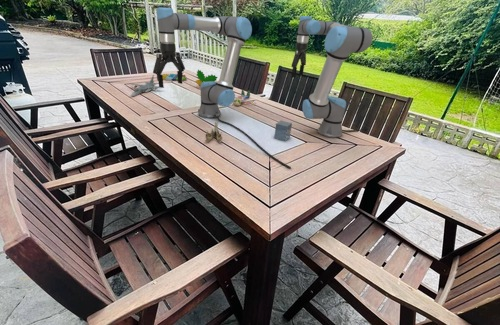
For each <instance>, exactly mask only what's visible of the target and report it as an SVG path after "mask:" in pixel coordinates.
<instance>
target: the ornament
mask: <svg viewBox="0 0 500 325" xmlns="http://www.w3.org/2000/svg"><path fill="white" fill-rule="evenodd" d="M196 76H197V80H195V81H194V82H195V84H197V86H199V87H200V86H201V83H202V82H208V81H215V82H217V79H218V76H216V74H214V75H213V74H208V75H205V73H204V71H202V70H199V69H197V71H196Z"/></svg>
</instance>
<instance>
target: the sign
mask: <svg viewBox="0 0 500 325" xmlns="http://www.w3.org/2000/svg"><path fill="white" fill-rule="evenodd" d="M162 75H163V80H165V81H172V82H173V81H178V76H177V73H163V74H162ZM184 81H187V77H186V74H183V77H182V82H184Z"/></svg>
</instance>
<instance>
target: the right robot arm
mask: <svg viewBox="0 0 500 325" xmlns="http://www.w3.org/2000/svg"><path fill="white" fill-rule="evenodd" d="M310 35H312V36H314V35H321V36H325V39H324V50H325V54H326V58H325V61H324V64H323V67H322V70H321V72H320V74H319V77H318V80H317V82H316V85H315V88H314V91H313V93H311V94H309V97H308V99H307V98H306V99H304V100H303V102H302V114H303V116H304V118H305V119H307V120H322V122H321V123H320V124H319V126H318V128H317V133H318V134H319V135H320V136H323V137H326V138H331V139H337V138H341V137H342V136H343V132H346V133H350V132H361V131H367V129H366V128H364V127H363V128H360V129H348V130H347V129H343V125H342V124H343V119H344V115H345V111H346V108H347V101H346V100H345V99H344V98H340V97H338V96H333V95H332V96H331V95H330V93H331V91H332V89H333V86H334V84H335V83H336V79H337V77H338V74H339V72H340V70H341V67H342V65H343V63H344V61H347V60H348V59H349V56H350V55H351V54H360V53H363V52H365V51H367V50H368V49H369V48H370V47H371V45H372V43H373V33H372V31H371V30H370V29H369V28H366V27H362V26H360V27H359V26H349V25H345V24H342V23H340V22H339V21H329V20H327V21H326V20H317V19H313V17H312V16H310V15H300V17H299V20H298V28H297V35H296V43H295V49H296V50H295V52H294V57H293V59H292V63H291V69H292V70H291V78H294V79H295V78H296V76H297V70H298V67H297V66H298V64H299V62H300V66H299V72H298V75H301V76H303V75H304V70H305V66H306V65H307V50H308V45H309V39H310Z"/></svg>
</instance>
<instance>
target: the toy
mask: <svg viewBox="0 0 500 325" xmlns="http://www.w3.org/2000/svg"><path fill="white" fill-rule="evenodd" d="M240 92H241V93H240V95H238V96H237V97H235V99H234V101H233V103H232V104H233V105H235V106H242V103H243V104H247V105H252V106H255V105H256V104H257V103H256V102H254V101H253V100H252V101H251V102H250V101H248V100H246V99H248V98H250V97H251V90H250V89H249V90H248V91H247V92H246V93H245V91H244V89H242V90H241V91H240Z"/></svg>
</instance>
